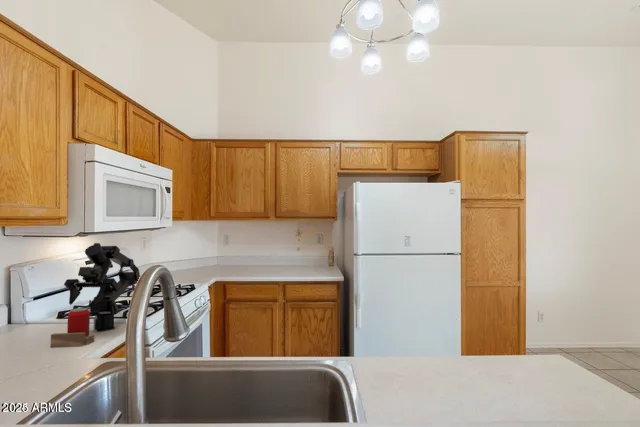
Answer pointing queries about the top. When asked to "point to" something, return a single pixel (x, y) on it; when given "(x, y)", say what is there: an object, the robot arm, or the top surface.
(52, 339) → the can cradle
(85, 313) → the beverage can
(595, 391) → the top surface
